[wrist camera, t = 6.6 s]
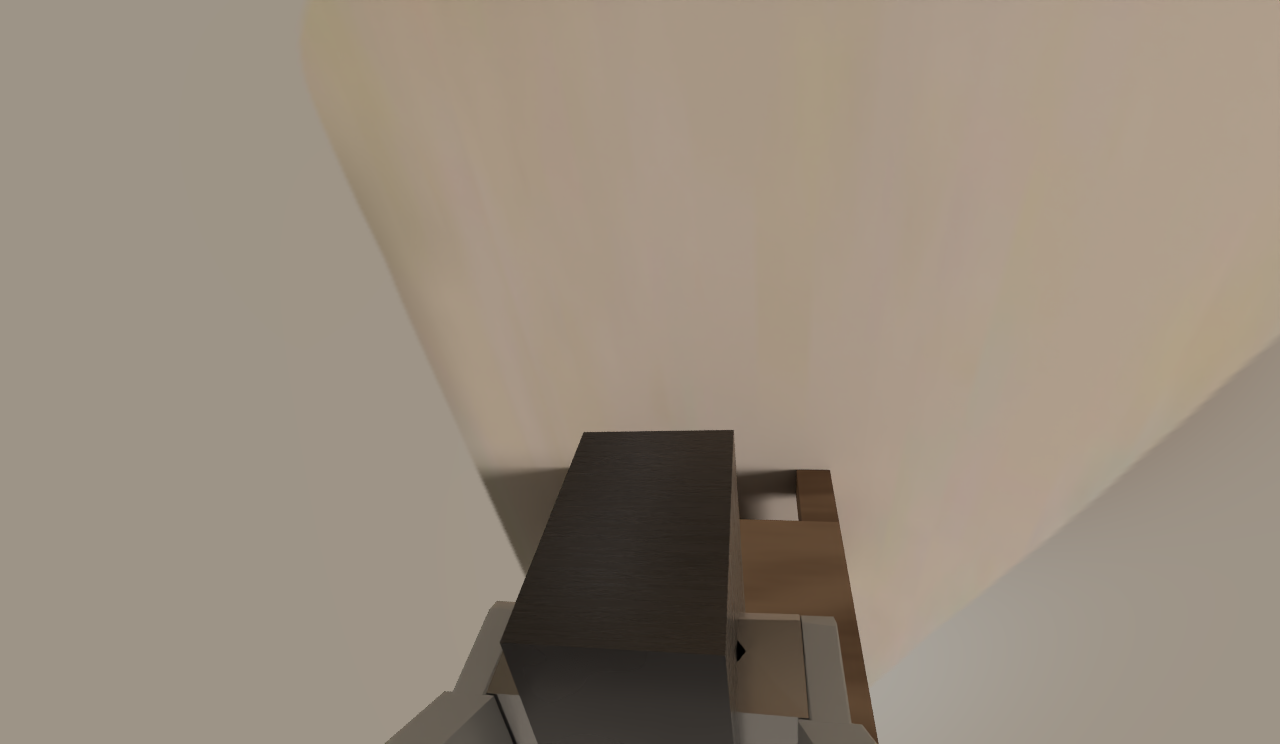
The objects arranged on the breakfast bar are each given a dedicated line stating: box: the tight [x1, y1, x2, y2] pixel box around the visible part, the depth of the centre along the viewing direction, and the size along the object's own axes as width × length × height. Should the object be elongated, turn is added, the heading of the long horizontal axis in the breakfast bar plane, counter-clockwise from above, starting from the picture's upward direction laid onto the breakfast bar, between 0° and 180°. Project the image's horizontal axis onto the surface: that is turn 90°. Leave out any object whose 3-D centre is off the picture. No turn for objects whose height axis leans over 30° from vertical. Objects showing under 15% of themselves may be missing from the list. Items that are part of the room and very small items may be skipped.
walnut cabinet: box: [739, 470, 878, 744], centre depth 34 cm, size 11×16×18 cm
